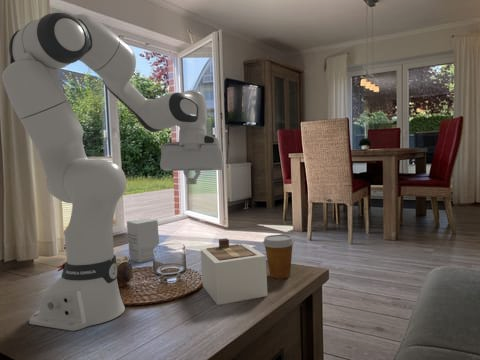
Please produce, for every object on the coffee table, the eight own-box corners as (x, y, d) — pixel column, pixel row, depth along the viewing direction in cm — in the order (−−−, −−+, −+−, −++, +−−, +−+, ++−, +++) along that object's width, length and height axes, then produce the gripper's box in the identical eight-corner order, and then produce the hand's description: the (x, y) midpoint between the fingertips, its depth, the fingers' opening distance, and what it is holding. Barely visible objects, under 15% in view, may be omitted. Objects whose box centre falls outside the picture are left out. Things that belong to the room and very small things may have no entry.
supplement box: (150, 254, 155) (147, 217, 154) (160, 258, 148) (158, 219, 147) (128, 259, 149) (126, 221, 148) (139, 263, 143) (136, 223, 142)
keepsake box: (202, 286, 114) (200, 249, 113) (246, 278, 118) (245, 243, 118) (217, 305, 99) (215, 263, 98) (267, 295, 103) (265, 255, 103)
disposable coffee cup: (297, 279, 115) (295, 240, 114) (265, 281, 115) (263, 241, 115) (293, 270, 125) (291, 233, 124) (264, 271, 125) (262, 235, 124)
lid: (206, 253, 115) (205, 240, 114) (238, 249, 118) (237, 236, 118) (219, 265, 102) (219, 250, 101) (254, 260, 105) (254, 246, 105)
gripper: (158, 139, 121) (156, 182, 119) (222, 138, 119) (221, 182, 117) (164, 144, 128) (162, 185, 125) (225, 143, 126) (224, 185, 123)
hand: (191, 184), depth 121 cm, fingers closed
